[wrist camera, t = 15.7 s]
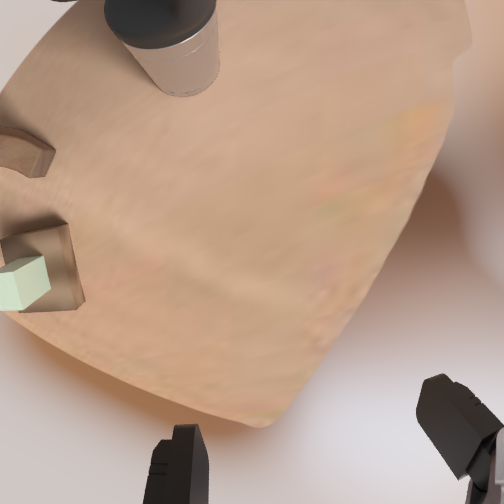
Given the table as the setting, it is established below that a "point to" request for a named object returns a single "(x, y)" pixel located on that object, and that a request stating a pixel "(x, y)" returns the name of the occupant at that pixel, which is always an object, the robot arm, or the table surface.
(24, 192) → the table surface
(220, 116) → the table surface
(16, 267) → the green block
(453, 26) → the table surface
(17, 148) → the wooden block
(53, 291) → the brown tapered block
